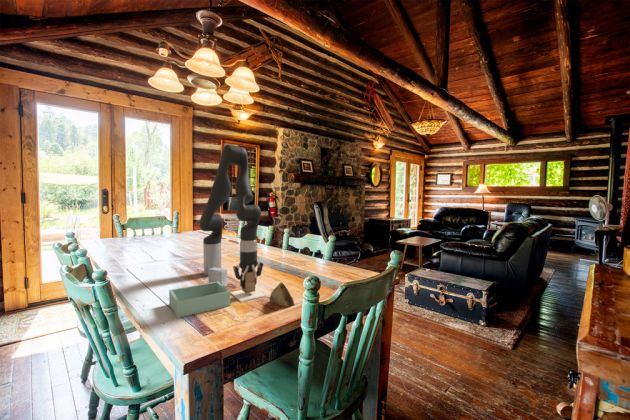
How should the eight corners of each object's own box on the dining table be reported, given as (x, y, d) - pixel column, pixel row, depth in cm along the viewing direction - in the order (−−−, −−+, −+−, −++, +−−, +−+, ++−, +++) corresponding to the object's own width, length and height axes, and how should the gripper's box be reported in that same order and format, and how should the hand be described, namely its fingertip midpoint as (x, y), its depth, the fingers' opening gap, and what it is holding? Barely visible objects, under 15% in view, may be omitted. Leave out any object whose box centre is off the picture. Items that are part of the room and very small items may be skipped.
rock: (262, 296, 122) (270, 301, 113) (273, 278, 125) (281, 282, 116) (281, 307, 126) (290, 313, 117) (292, 290, 129) (301, 295, 120)
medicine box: (227, 286, 140) (227, 268, 139) (221, 289, 135) (221, 271, 135) (214, 284, 142) (214, 267, 141) (208, 286, 138) (208, 269, 137)
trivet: (230, 293, 130) (230, 292, 130) (255, 288, 137) (255, 287, 137) (240, 302, 121) (240, 300, 121) (266, 296, 128) (266, 295, 128)
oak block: (241, 290, 129) (241, 270, 129) (251, 288, 132) (251, 269, 131) (245, 293, 126) (245, 273, 125) (255, 291, 128) (255, 271, 128)
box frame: (169, 304, 117) (169, 289, 117) (218, 294, 129) (218, 281, 128) (176, 318, 105) (176, 302, 105) (230, 305, 117) (230, 291, 116)
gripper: (259, 246, 135) (259, 281, 136) (229, 249, 126) (229, 287, 128) (266, 249, 129) (266, 286, 130) (236, 253, 120) (236, 292, 122)
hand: (248, 286), depth 129 cm, fingers open, 4 cm apart
